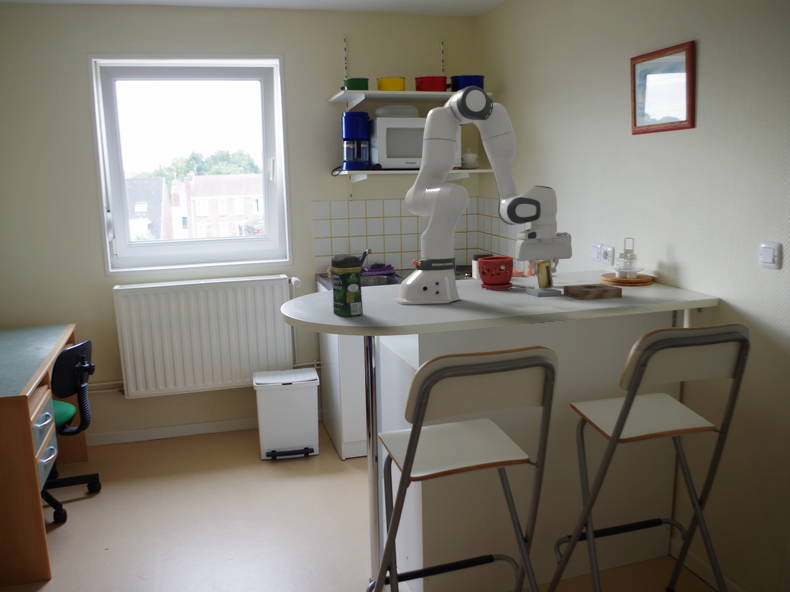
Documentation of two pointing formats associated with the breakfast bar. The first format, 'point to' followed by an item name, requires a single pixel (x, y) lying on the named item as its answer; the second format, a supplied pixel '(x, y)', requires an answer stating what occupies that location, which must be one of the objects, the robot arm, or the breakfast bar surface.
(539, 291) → the slate coaster
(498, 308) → the breakfast bar surface
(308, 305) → the breakfast bar surface
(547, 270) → the brass peg
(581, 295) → the eye block
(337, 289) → the coffee jar
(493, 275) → the plant pot
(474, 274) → the jar
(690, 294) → the breakfast bar surface
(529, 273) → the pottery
